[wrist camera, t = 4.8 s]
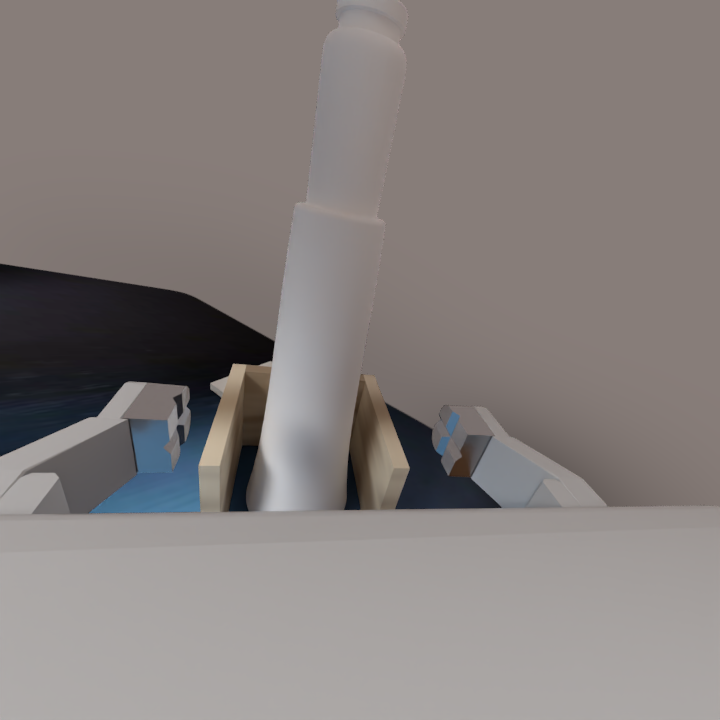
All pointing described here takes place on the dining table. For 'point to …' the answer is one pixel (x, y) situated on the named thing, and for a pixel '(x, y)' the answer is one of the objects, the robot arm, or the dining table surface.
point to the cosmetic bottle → (332, 266)
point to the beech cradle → (244, 426)
